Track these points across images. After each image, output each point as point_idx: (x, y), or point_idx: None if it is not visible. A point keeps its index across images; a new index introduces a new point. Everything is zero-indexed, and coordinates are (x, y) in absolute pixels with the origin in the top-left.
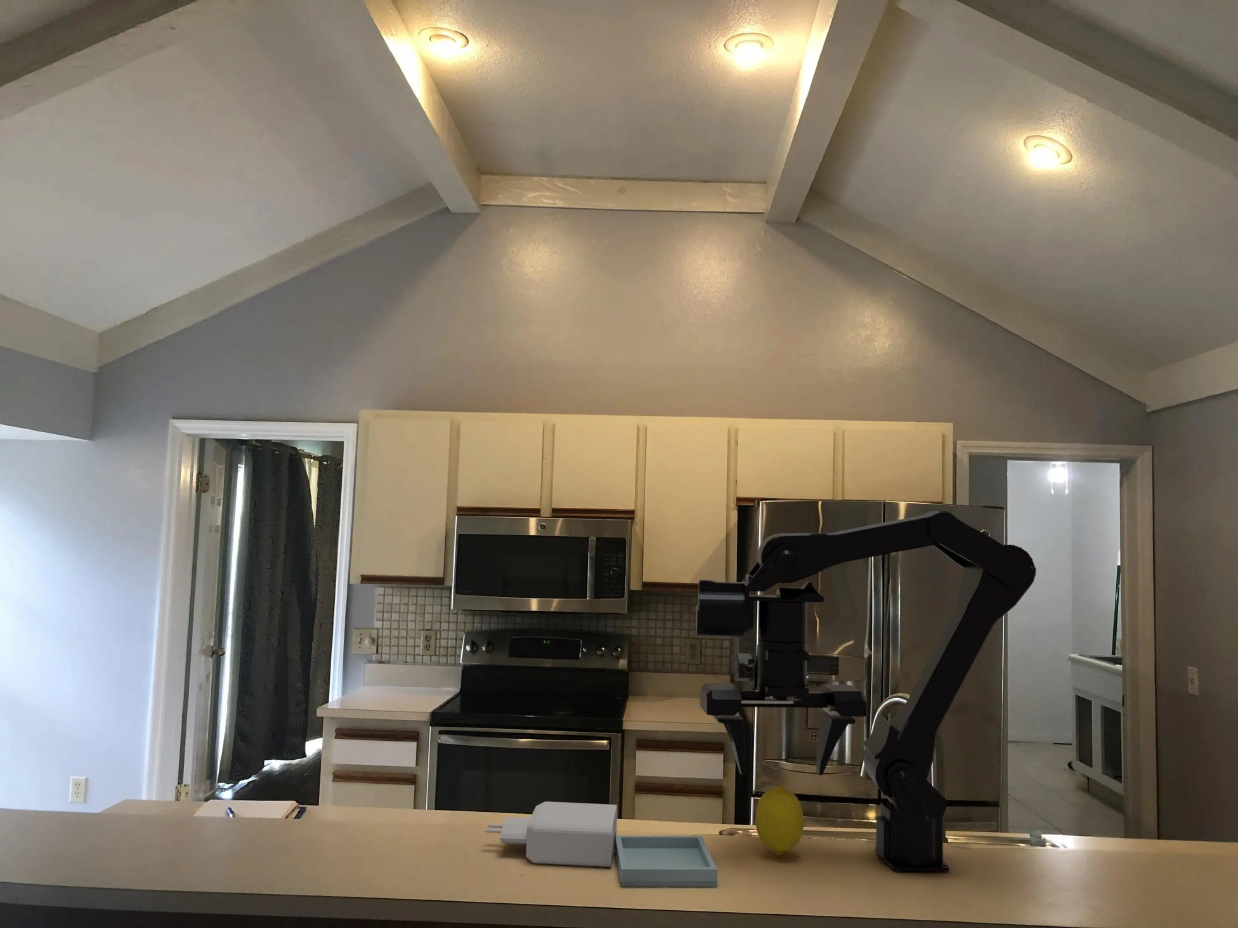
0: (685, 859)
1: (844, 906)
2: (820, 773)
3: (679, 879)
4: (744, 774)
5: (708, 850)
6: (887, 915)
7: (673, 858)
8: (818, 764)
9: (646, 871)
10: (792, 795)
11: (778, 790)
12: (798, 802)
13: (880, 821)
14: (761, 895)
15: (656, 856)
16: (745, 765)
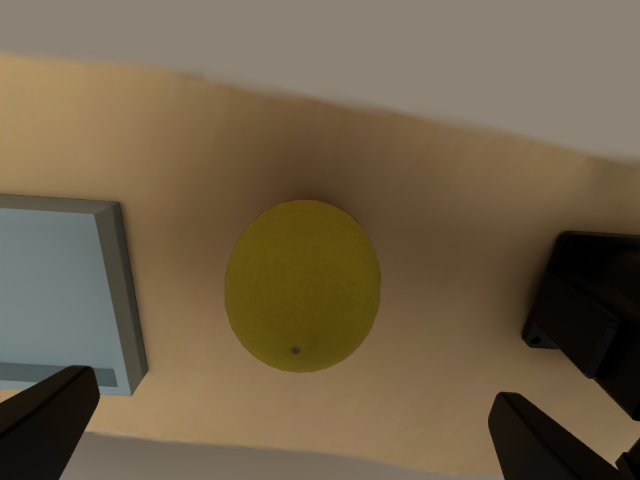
0: (75, 282)
1: (347, 439)
2: (493, 436)
3: None
4: (98, 401)
5: (113, 308)
6: (399, 464)
7: (46, 275)
8: (516, 463)
9: None
10: (339, 356)
11: (284, 357)
12: (360, 343)
13: (593, 353)
14: (223, 401)
15: (4, 261)
16: (66, 462)
